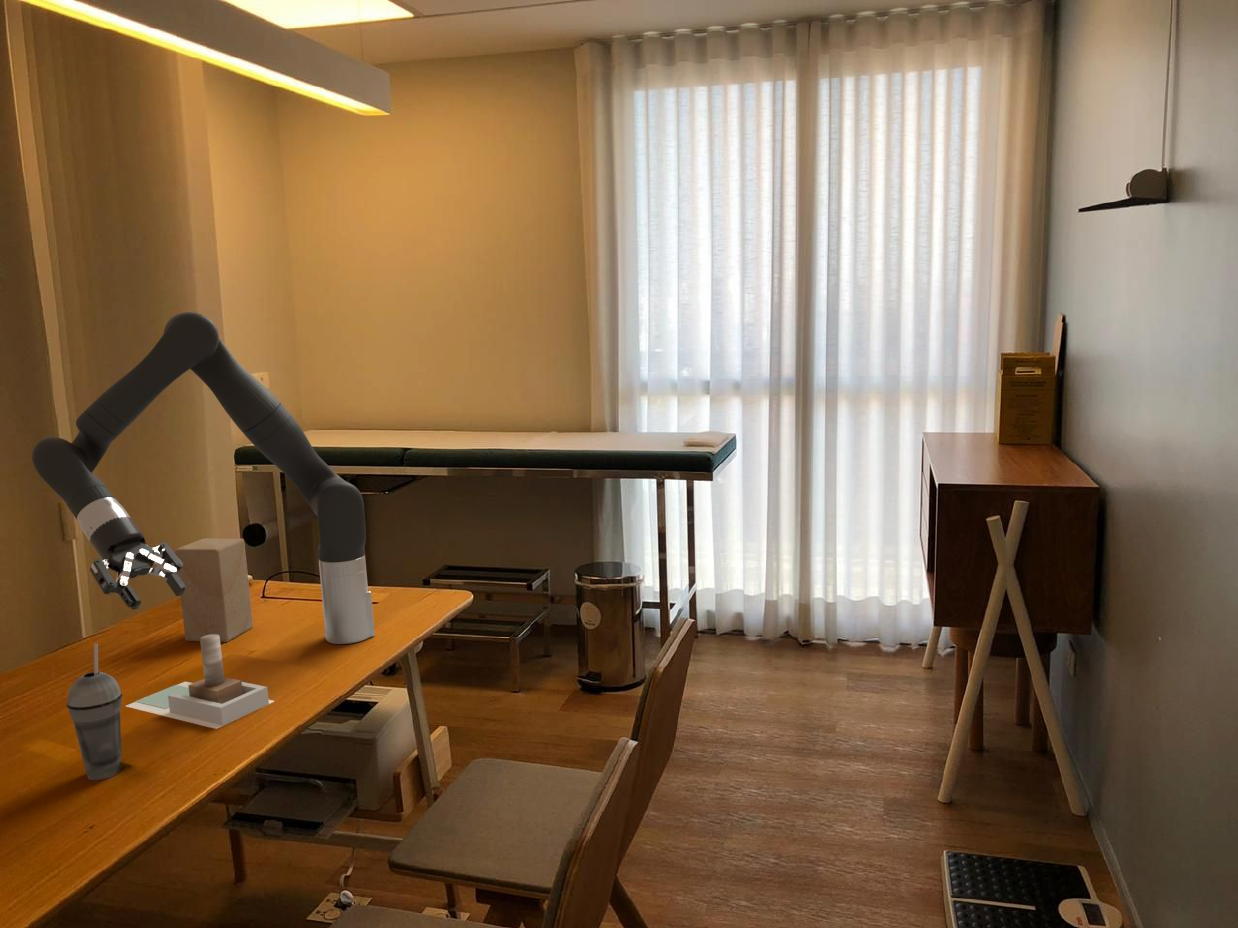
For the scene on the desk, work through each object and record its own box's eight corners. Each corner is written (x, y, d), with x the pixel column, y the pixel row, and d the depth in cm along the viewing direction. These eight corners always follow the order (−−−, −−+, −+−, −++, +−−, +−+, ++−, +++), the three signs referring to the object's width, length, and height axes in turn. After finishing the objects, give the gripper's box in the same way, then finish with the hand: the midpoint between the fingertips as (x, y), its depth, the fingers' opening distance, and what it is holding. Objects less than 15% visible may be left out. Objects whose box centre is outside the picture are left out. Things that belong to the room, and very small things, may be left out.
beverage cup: (90, 763, 148) (73, 637, 145) (139, 759, 149) (123, 634, 145) (67, 786, 141) (49, 654, 138) (119, 782, 141) (102, 651, 138)
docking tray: (275, 709, 166) (273, 684, 165) (217, 737, 156) (214, 710, 155) (186, 689, 177) (183, 665, 176) (125, 714, 166) (122, 689, 166)
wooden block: (227, 642, 202) (216, 549, 199) (184, 641, 204) (173, 549, 201) (254, 627, 212) (244, 537, 209) (213, 626, 214) (203, 537, 211)
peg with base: (243, 703, 164) (236, 635, 162) (219, 714, 160) (211, 644, 158) (215, 696, 168) (208, 630, 166) (190, 707, 163) (182, 639, 161)
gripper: (79, 523, 162) (130, 597, 159) (154, 507, 175) (204, 575, 171) (63, 552, 166) (113, 624, 162) (139, 534, 178) (187, 601, 174)
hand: (160, 599), depth 167 cm, fingers open, 8 cm apart
